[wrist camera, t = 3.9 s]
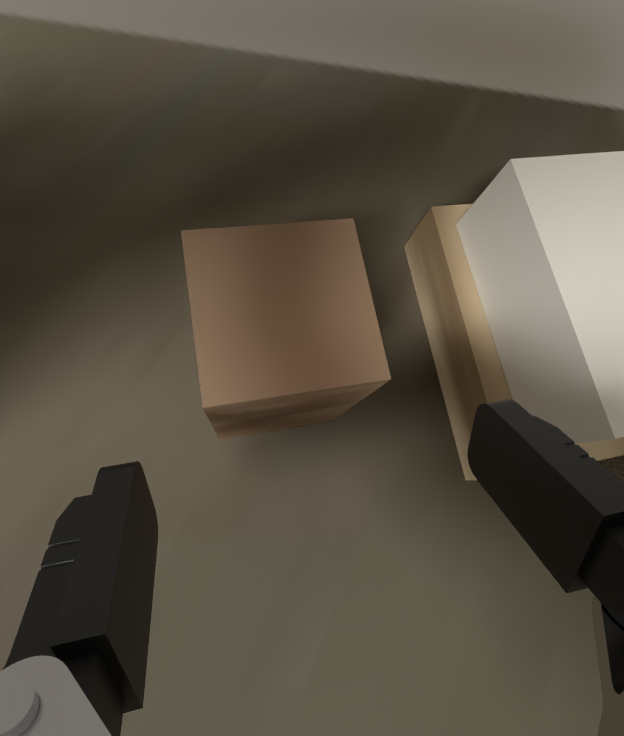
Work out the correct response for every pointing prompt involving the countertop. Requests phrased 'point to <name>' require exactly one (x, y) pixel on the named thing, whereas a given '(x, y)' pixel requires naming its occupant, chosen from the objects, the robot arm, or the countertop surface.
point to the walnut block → (281, 324)
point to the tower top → (555, 286)
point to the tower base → (462, 329)
